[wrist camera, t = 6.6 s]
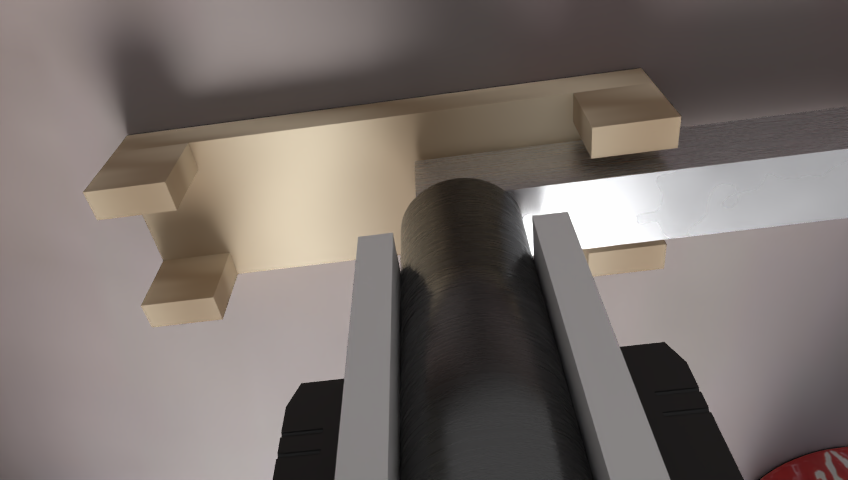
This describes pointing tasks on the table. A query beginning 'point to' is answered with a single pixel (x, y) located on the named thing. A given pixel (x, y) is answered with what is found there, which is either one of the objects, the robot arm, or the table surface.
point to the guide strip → (349, 178)
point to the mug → (814, 467)
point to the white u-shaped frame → (520, 287)
